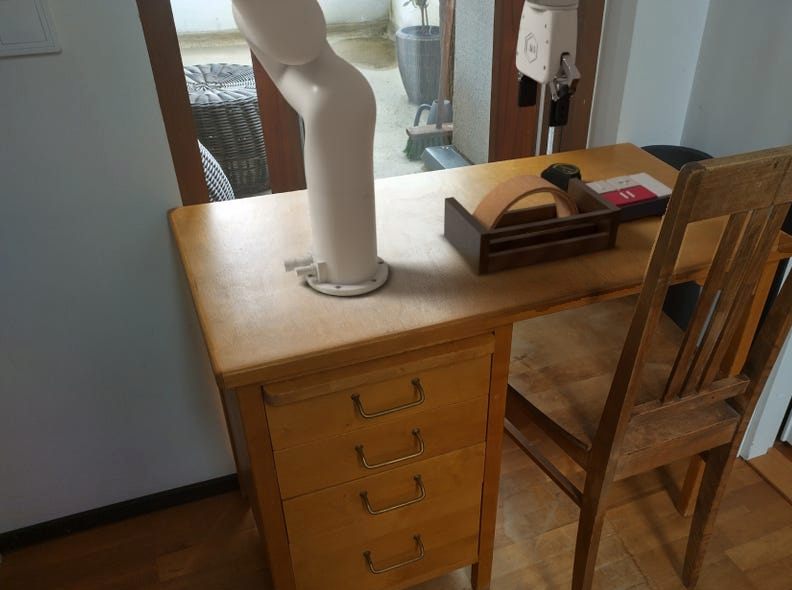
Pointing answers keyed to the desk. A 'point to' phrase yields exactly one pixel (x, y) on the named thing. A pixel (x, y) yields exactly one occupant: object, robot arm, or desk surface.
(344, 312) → the desk surface
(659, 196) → the plus minus keypad
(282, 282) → the desk surface
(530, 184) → the arch
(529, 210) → the rack
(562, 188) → the tape measure
